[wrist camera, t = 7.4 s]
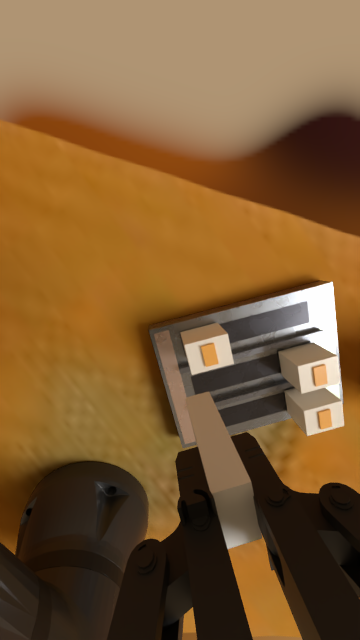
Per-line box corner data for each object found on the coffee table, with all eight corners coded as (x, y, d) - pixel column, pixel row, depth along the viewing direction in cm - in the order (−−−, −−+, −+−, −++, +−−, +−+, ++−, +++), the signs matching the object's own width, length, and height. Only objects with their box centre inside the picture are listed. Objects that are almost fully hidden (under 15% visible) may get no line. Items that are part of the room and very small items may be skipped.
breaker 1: (186, 358, 27) (192, 376, 23) (180, 332, 26) (184, 345, 22) (222, 348, 27) (234, 364, 23) (217, 322, 26) (228, 334, 22)
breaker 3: (287, 413, 30) (308, 437, 26) (284, 390, 29) (305, 412, 25) (319, 404, 30) (345, 426, 26) (317, 381, 29) (343, 401, 25)
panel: (181, 436, 32) (183, 453, 29) (149, 325, 28) (148, 332, 25) (332, 394, 32) (348, 407, 30) (320, 280, 29) (337, 282, 26)
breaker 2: (281, 375, 29) (302, 394, 25) (278, 351, 28) (298, 367, 24) (315, 366, 29) (341, 384, 25) (312, 342, 28) (339, 356, 24)
